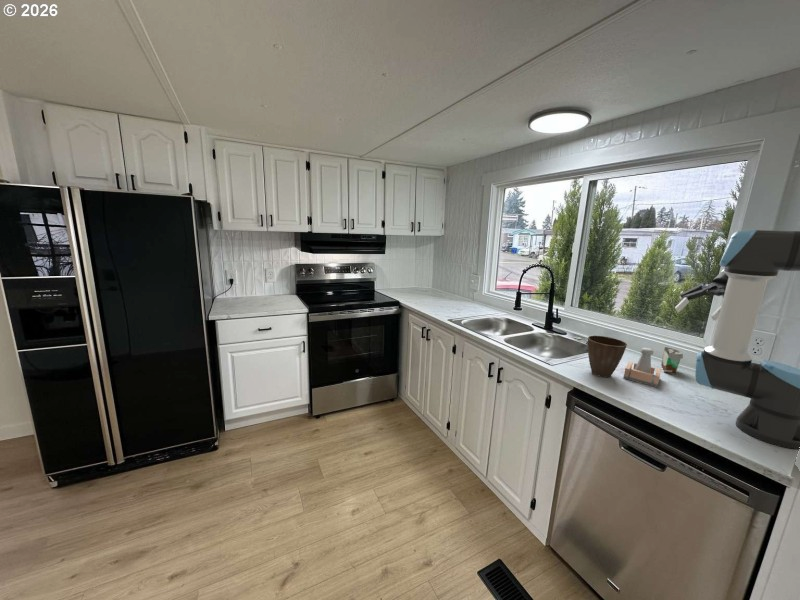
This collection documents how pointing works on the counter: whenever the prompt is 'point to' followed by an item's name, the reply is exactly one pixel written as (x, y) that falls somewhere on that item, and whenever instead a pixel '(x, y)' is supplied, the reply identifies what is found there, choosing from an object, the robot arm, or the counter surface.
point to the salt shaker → (645, 360)
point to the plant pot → (604, 354)
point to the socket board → (642, 375)
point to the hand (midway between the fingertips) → (693, 313)
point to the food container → (671, 360)
